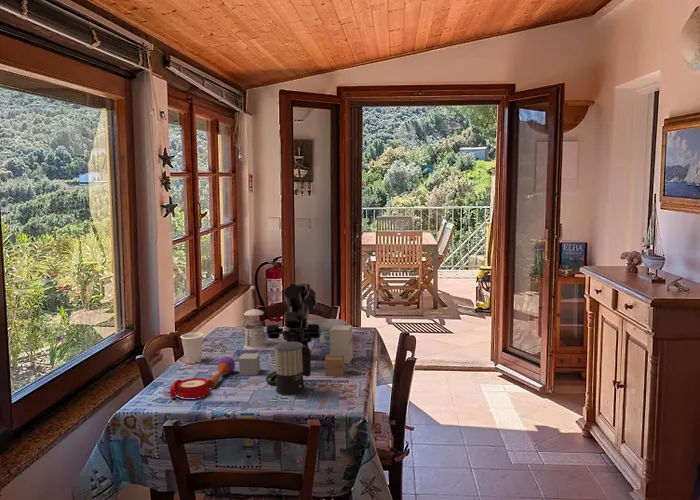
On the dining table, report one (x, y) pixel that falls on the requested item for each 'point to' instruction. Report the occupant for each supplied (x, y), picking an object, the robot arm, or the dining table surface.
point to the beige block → (249, 364)
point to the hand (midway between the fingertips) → (291, 352)
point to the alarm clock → (190, 388)
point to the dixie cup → (192, 346)
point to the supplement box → (342, 341)
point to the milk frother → (290, 367)
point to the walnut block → (334, 365)
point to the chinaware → (326, 327)
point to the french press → (254, 330)
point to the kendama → (222, 370)
